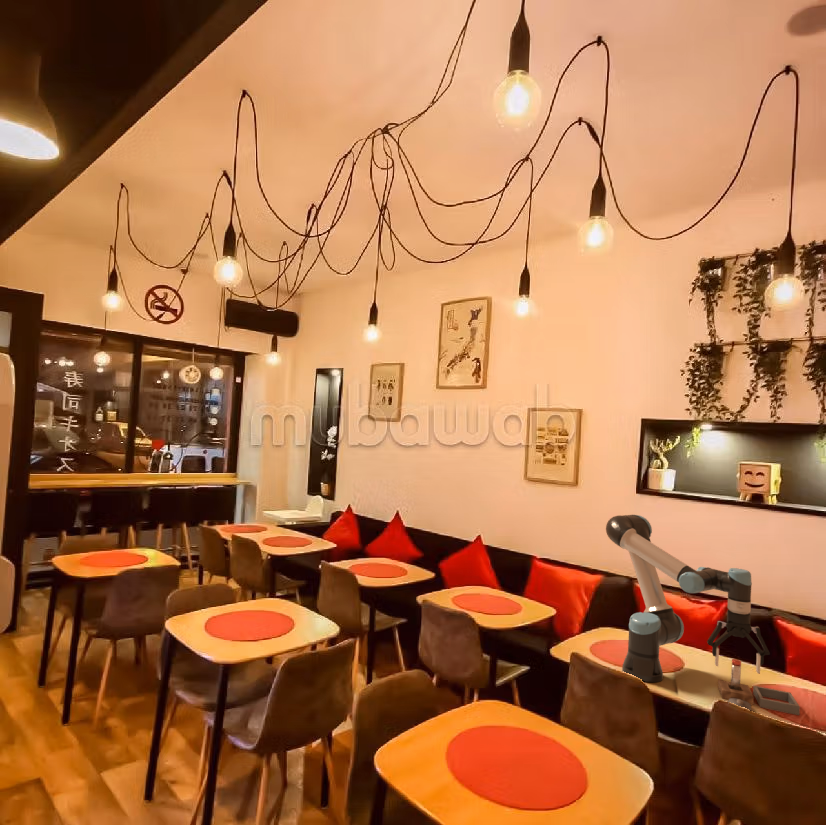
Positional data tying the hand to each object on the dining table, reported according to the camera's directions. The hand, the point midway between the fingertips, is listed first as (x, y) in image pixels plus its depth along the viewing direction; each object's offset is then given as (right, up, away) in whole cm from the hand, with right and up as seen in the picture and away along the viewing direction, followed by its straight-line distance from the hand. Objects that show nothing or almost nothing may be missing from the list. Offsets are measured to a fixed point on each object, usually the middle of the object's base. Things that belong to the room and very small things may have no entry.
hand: (737, 668), depth 210 cm
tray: (+11, -12, -5) cm, 17 cm away
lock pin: (-1, -10, 0) cm, 10 cm away
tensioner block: (-2, -11, -4) cm, 12 cm away
